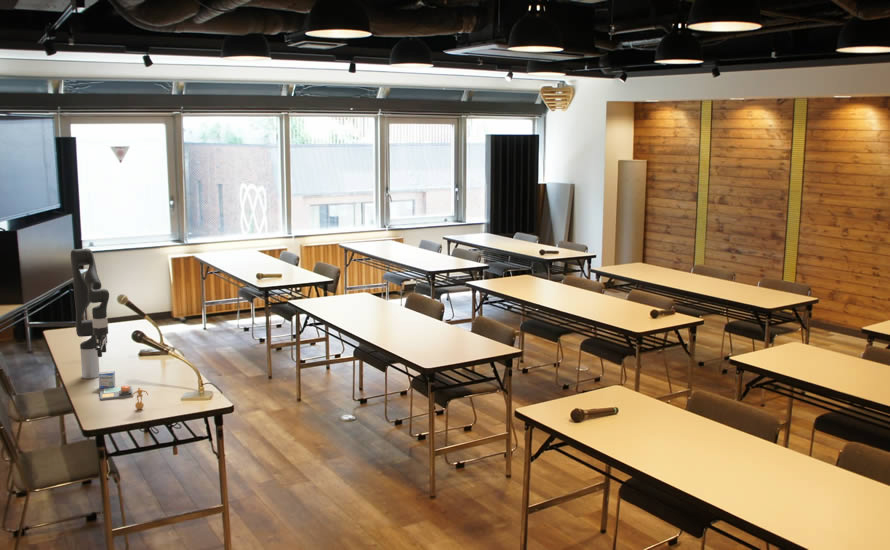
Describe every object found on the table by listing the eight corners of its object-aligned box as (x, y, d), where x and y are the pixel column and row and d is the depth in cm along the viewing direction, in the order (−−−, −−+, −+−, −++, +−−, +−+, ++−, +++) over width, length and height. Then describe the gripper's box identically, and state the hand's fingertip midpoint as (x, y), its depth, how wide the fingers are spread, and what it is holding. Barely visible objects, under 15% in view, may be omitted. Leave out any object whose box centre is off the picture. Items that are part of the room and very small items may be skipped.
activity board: (99, 390, 424) (99, 387, 424) (131, 387, 431) (131, 384, 430) (100, 400, 409) (100, 396, 409) (133, 396, 416) (132, 393, 415)
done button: (120, 389, 418) (120, 386, 418) (129, 388, 420) (129, 385, 420) (121, 391, 414) (121, 388, 414) (130, 390, 416) (129, 387, 416)
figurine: (147, 406, 401) (146, 384, 399) (150, 410, 396) (148, 387, 394) (130, 409, 396) (129, 386, 394) (132, 413, 391) (131, 390, 389)
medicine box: (99, 389, 427) (98, 374, 426) (100, 386, 431) (99, 371, 430) (114, 388, 429) (113, 373, 428) (115, 385, 433) (114, 370, 432)
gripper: (96, 322, 426) (98, 351, 429) (89, 329, 412) (91, 358, 415) (111, 322, 427) (112, 350, 430) (104, 328, 413) (105, 358, 416)
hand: (102, 354), depth 422 cm, fingers open, 8 cm apart
